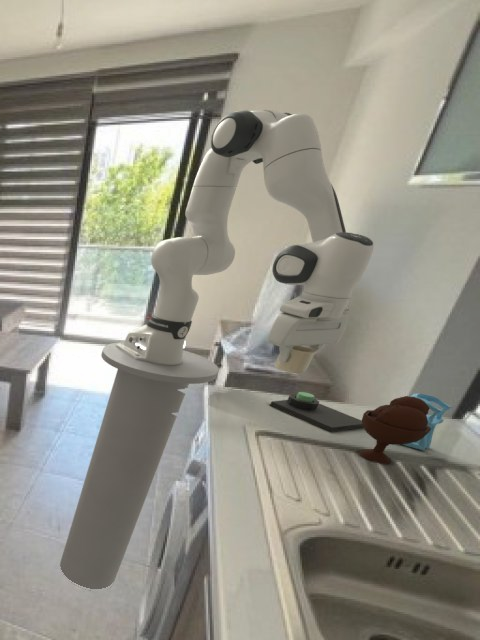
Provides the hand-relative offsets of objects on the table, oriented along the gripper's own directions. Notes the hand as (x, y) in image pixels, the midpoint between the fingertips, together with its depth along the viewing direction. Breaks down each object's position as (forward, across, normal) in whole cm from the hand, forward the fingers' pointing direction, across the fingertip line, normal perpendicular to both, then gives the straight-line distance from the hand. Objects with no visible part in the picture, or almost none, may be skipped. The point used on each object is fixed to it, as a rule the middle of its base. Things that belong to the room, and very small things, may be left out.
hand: (293, 360), depth 122 cm
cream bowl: (+2, 0, 0) cm, 2 cm away
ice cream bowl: (+15, -3, +24) cm, 28 cm away
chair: (+15, -20, +20) cm, 32 cm away
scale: (+15, -13, +4) cm, 20 cm away
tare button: (+13, -13, -1) cm, 18 cm away
